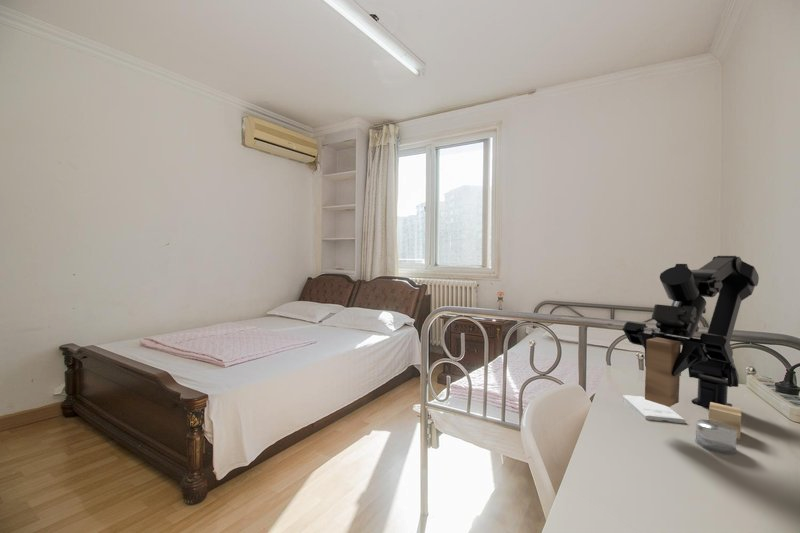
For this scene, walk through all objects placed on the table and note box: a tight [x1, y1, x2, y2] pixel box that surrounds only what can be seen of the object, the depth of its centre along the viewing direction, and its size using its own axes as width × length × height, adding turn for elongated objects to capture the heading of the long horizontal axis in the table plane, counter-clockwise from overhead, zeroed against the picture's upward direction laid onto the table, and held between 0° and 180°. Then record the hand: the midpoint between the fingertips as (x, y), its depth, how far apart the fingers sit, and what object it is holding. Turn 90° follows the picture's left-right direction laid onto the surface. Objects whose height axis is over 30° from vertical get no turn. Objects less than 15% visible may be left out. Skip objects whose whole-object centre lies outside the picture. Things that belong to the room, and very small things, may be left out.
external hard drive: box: [622, 394, 687, 424], centre depth 86 cm, size 2×8×12 cm
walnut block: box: [644, 337, 682, 408], centre depth 75 cm, size 4×4×13 cm
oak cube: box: [708, 402, 742, 440], centre depth 76 cm, size 5×5×5 cm
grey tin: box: [694, 419, 738, 456], centre depth 70 cm, size 6×6×4 cm
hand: (659, 371), depth 75 cm, fingers closed on walnut block, 4 cm apart
